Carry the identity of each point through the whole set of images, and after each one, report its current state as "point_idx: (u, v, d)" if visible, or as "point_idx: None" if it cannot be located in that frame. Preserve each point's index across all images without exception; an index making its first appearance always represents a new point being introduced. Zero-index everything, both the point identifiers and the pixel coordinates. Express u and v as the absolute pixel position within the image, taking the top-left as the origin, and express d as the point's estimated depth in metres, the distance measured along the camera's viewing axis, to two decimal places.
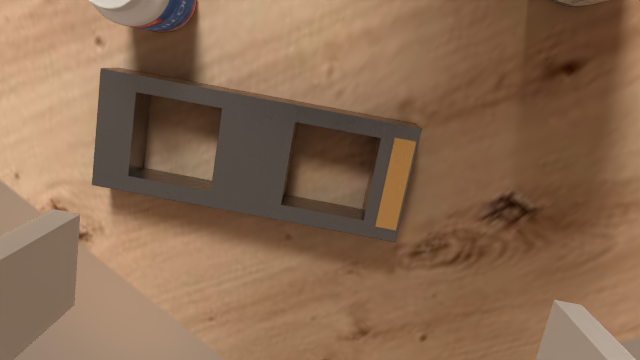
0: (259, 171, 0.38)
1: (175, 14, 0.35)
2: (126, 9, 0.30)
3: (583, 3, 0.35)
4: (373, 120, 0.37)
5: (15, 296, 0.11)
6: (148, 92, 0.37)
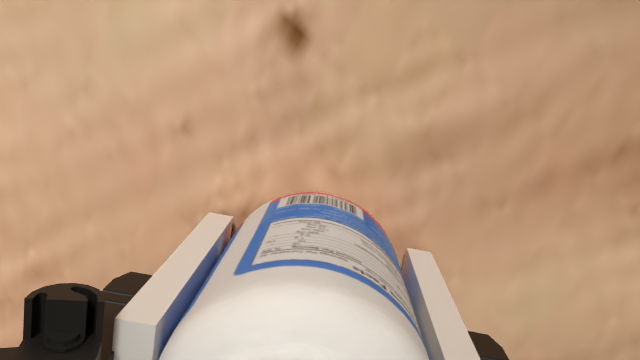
0: None
1: None
2: None
3: None
4: None
5: None
6: None
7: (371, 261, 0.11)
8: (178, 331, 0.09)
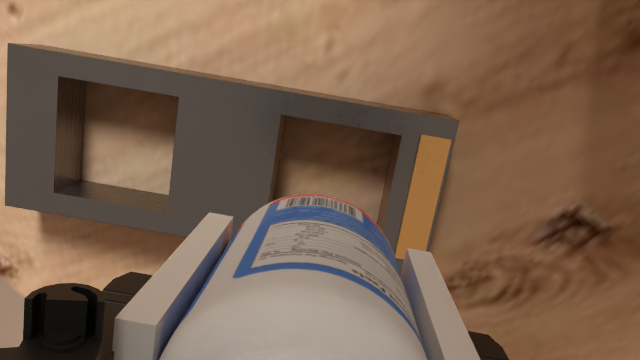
0: (232, 184, 0.27)
1: None
2: None
3: None
4: (391, 110, 0.26)
5: None
6: (75, 76, 0.26)
7: (370, 264, 0.11)
8: (177, 334, 0.09)
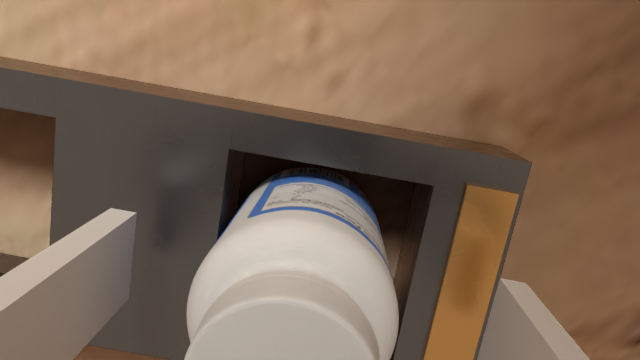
0: (151, 261, 0.17)
1: None
2: None
3: None
4: (416, 144, 0.15)
5: (87, 288, 0.12)
6: None
7: (351, 211, 0.14)
8: (208, 255, 0.12)
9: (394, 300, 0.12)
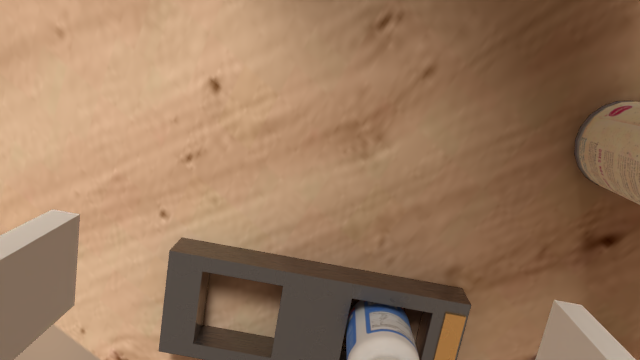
0: (316, 340, 0.40)
1: None
2: None
3: None
4: (425, 297, 0.39)
5: (15, 296, 0.11)
6: (213, 271, 0.39)
7: (401, 327, 0.38)
8: (356, 348, 0.36)
9: None
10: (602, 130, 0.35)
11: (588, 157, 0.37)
